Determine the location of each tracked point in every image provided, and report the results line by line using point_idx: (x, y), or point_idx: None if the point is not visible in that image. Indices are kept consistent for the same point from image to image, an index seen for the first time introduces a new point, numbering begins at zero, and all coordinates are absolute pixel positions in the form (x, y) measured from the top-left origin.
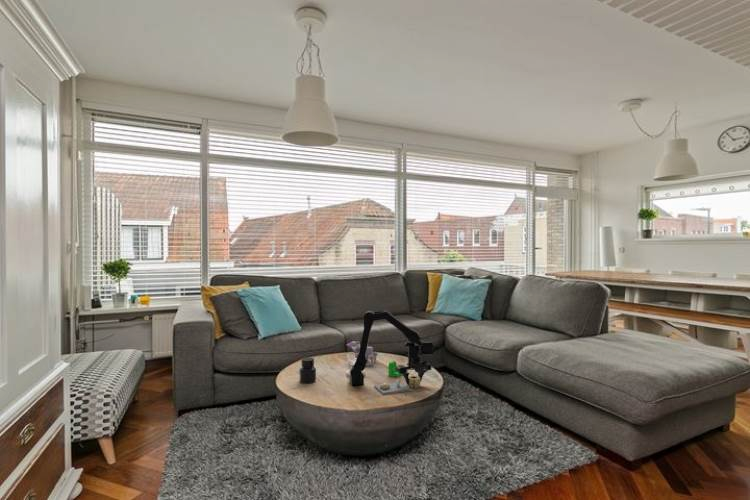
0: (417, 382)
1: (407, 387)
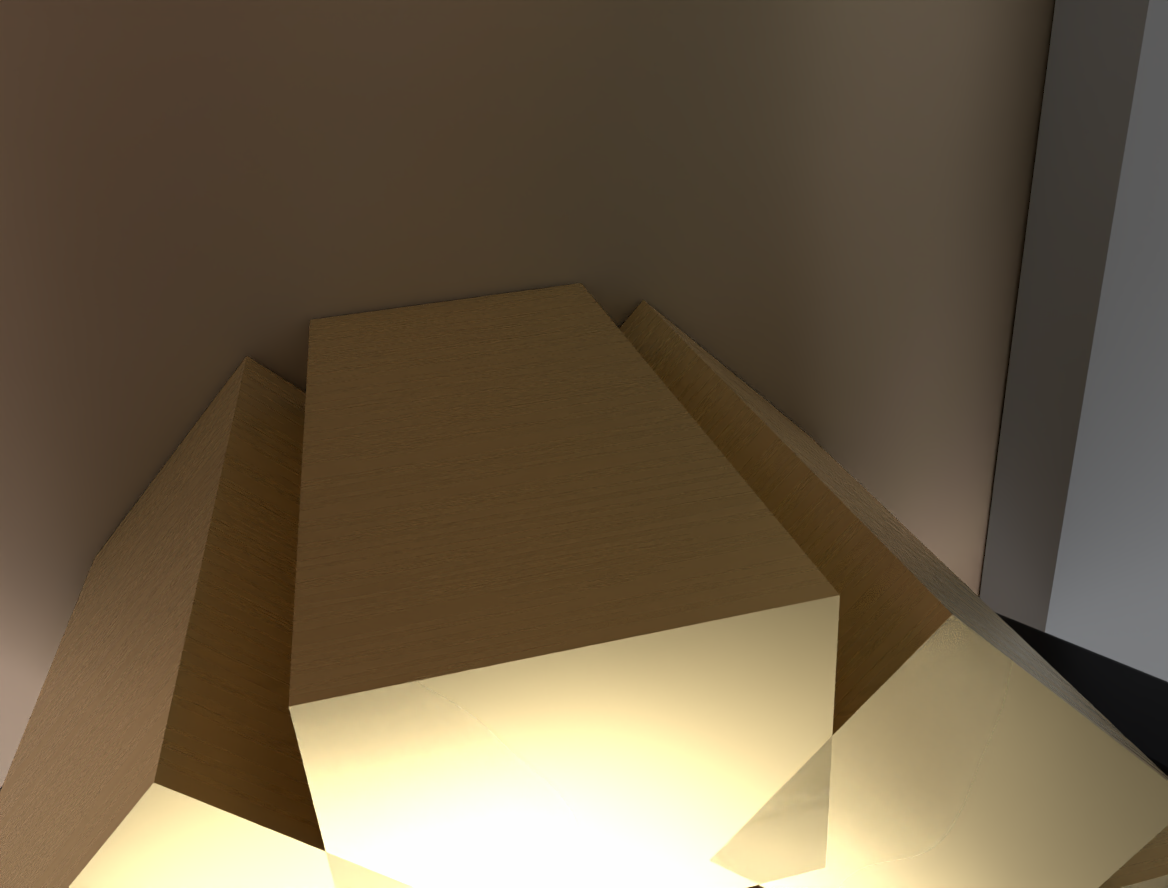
0: (391, 473)
1: (1162, 196)
